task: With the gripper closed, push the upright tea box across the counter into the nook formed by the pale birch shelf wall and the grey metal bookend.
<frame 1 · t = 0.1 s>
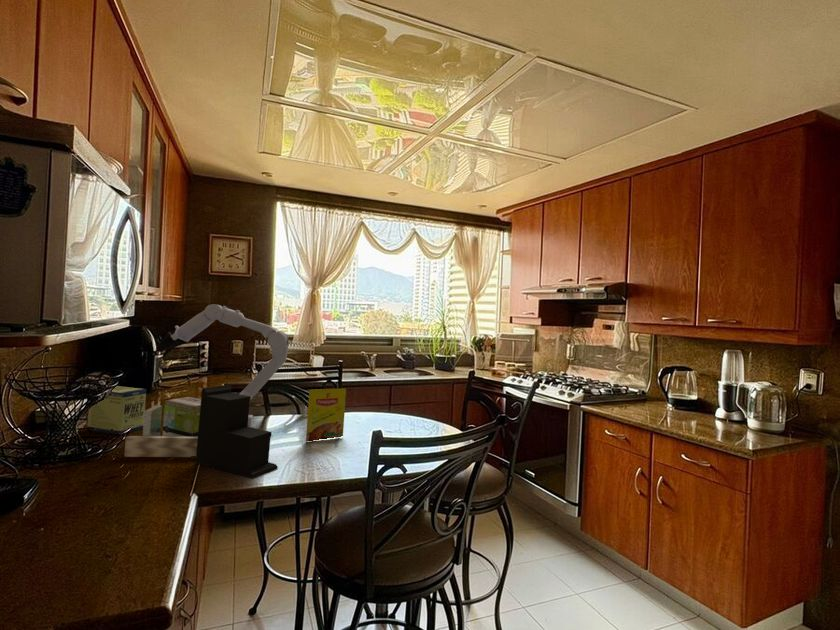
hand: (162, 349, 160), 32 cm above the table, tool tilted 50°, fingers open, 7 cm apart
tea box: (188, 442, 156), on the table
shelf wall: (170, 455, 140), on the table
protein box: (115, 430, 165), on the table
food package: (324, 441, 168), on the table
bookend: (236, 467, 134), on the table
metal bookend: (150, 450, 143), on the table
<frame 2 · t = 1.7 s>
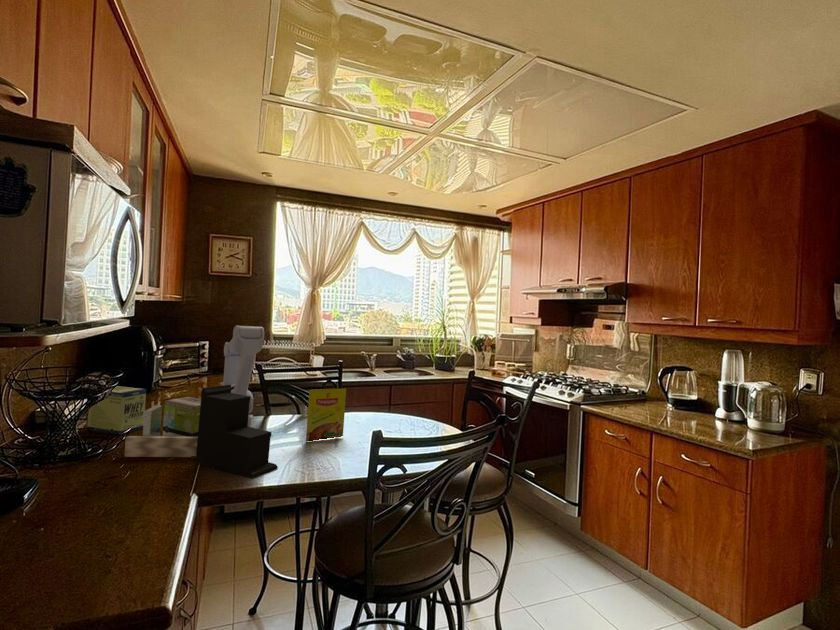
hand: (229, 405, 177), 9 cm above the table, tool pointing down, fingers open, 7 cm apart
nothing on the table moved.
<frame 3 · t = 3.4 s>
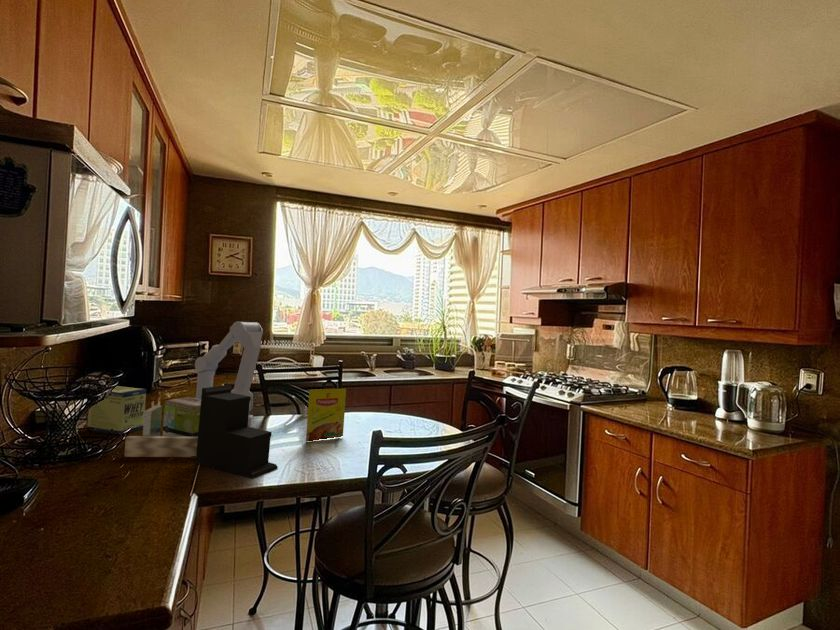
hand: (202, 421, 172), 3 cm above the table, tool pointing down, fingers closed
nothing on the table moved.
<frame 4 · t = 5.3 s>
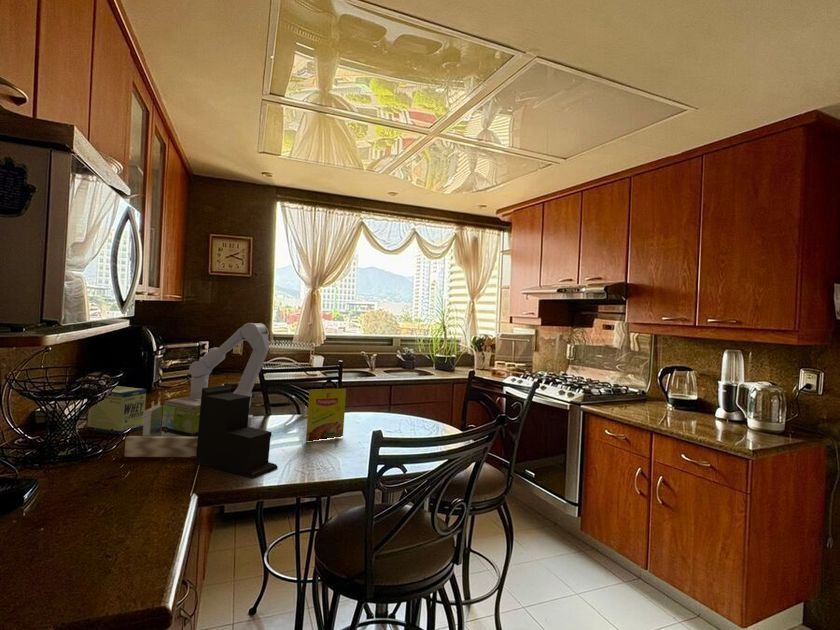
hand: (196, 428, 165), 2 cm above the table, tool pointing down, fingers closed
tea box: (187, 442, 156), on the table, touching gripper
everything else where it was.
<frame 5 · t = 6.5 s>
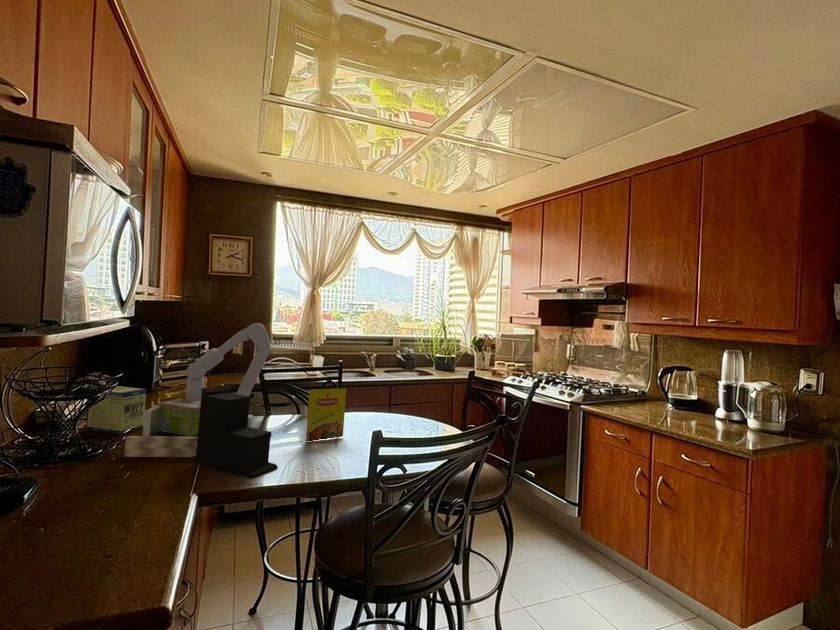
hand: (191, 432, 160), 2 cm above the table, tool pointing down, fingers closed
tea box: (182, 445, 152), on the table, touching gripper, metal bookend
everything else where it was.
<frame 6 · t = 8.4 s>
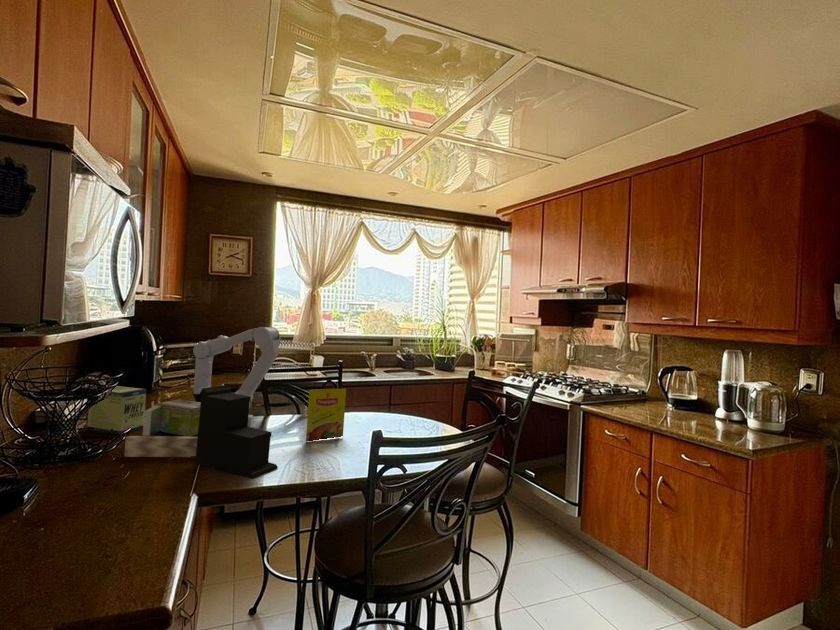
hand: (200, 409, 166), 9 cm above the table, tool pointing down, fingers closed
tea box: (181, 445, 151), on the table
everything else where it was.
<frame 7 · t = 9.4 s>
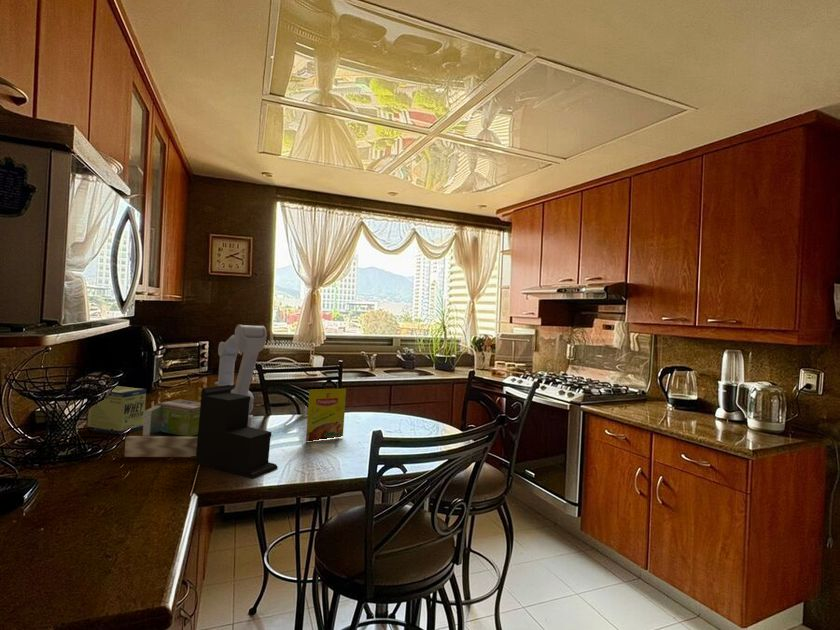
hand: (224, 405, 176), 9 cm above the table, tool pointing down, fingers closed
nothing on the table moved.
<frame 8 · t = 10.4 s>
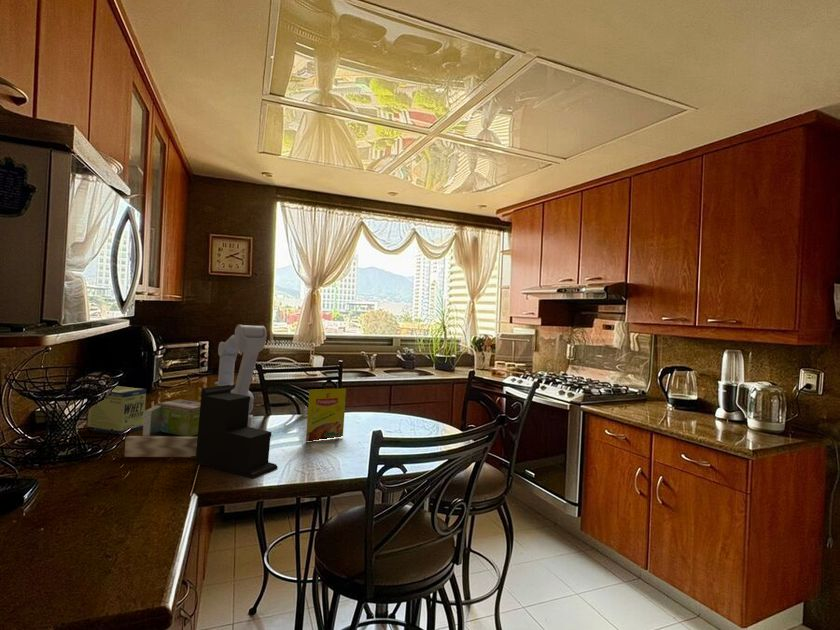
hand: (224, 405, 176), 9 cm above the table, tool pointing down, fingers closed
nothing on the table moved.
at the end: tea box 2.3 cm from the target spot, on the table; tea box tilted 0°; tea box moved 4.8 cm from its start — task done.
